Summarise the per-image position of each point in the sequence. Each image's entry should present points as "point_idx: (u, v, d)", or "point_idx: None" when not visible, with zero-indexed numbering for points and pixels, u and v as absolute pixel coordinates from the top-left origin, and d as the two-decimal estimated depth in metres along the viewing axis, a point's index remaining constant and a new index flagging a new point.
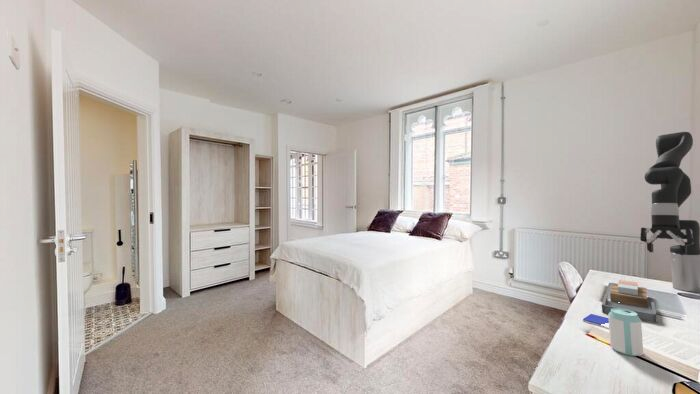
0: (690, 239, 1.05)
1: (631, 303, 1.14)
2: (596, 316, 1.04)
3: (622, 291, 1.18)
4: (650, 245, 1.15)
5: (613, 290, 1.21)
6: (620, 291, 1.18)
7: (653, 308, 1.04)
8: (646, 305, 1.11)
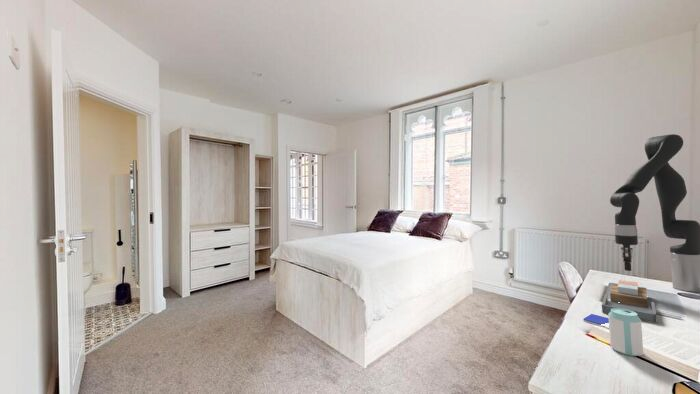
0: None
1: (631, 303, 1.14)
2: (597, 316, 1.04)
3: (622, 291, 1.18)
4: None
5: (613, 290, 1.21)
6: (620, 291, 1.18)
7: (653, 308, 1.04)
8: (646, 305, 1.11)
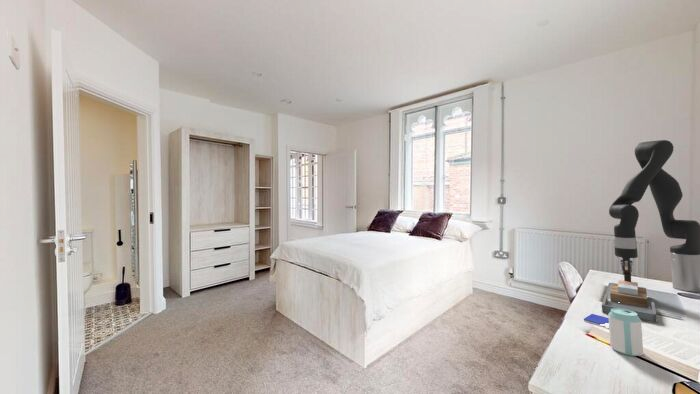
0: (623, 272, 1.25)
1: (631, 303, 1.14)
2: (597, 316, 1.04)
3: (622, 291, 1.18)
4: (624, 276, 1.27)
5: (613, 290, 1.21)
6: (620, 291, 1.18)
7: (653, 308, 1.04)
8: (646, 305, 1.11)
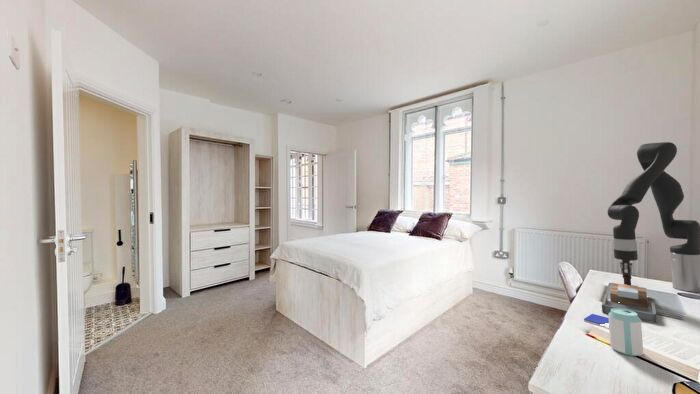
0: None
1: (631, 303, 1.14)
2: (597, 316, 1.04)
3: (622, 295, 1.14)
4: (624, 279, 1.23)
5: (613, 290, 1.21)
6: (620, 295, 1.14)
7: (653, 308, 1.04)
8: (646, 305, 1.11)
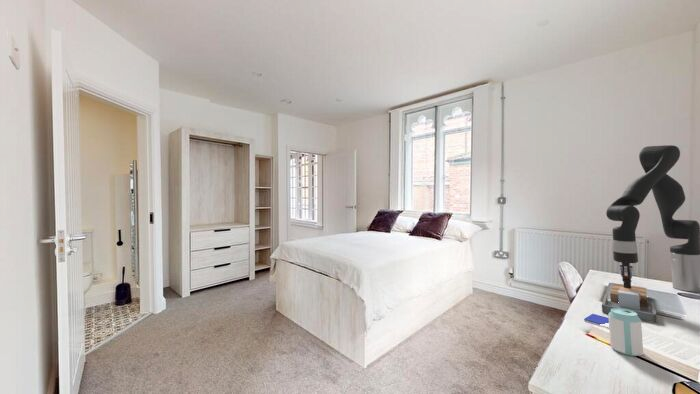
0: None
1: None
2: (597, 316, 1.04)
3: None
4: None
5: (613, 290, 1.21)
6: None
7: (653, 308, 1.04)
8: (646, 305, 1.11)
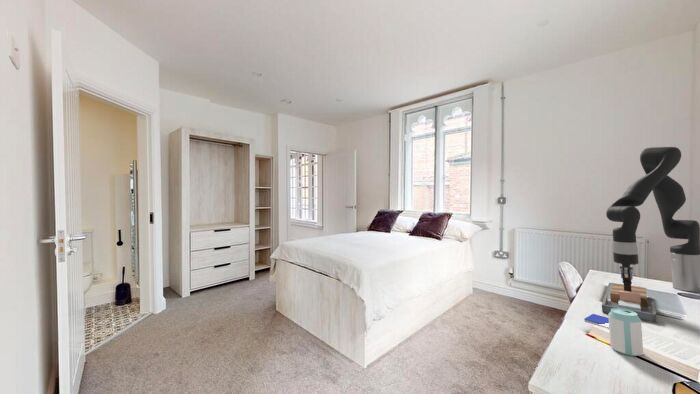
0: None
1: None
2: (598, 316, 1.04)
3: None
4: None
5: (613, 290, 1.21)
6: None
7: (653, 308, 1.04)
8: (646, 305, 1.11)
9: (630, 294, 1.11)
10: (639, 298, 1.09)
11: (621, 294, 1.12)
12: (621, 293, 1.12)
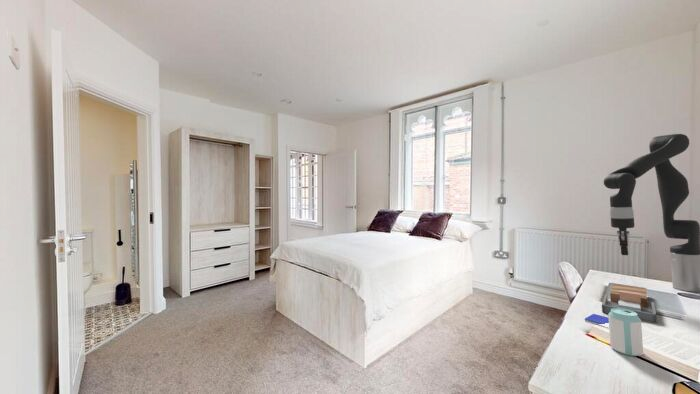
0: None
1: None
2: (598, 316, 1.03)
3: None
4: (621, 248, 1.23)
5: (613, 290, 1.21)
6: None
7: (653, 308, 1.04)
8: (646, 305, 1.11)
9: (630, 294, 1.11)
10: (639, 298, 1.09)
11: (621, 294, 1.12)
12: (621, 293, 1.12)
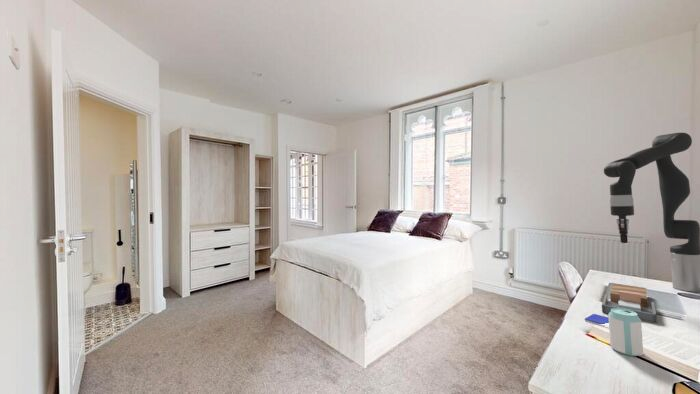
0: (619, 230, 1.21)
1: None
2: (599, 316, 1.03)
3: None
4: None
5: (613, 290, 1.21)
6: None
7: (653, 308, 1.04)
8: (646, 305, 1.11)
9: (630, 294, 1.11)
10: (639, 298, 1.09)
11: (621, 294, 1.12)
12: (621, 293, 1.12)
